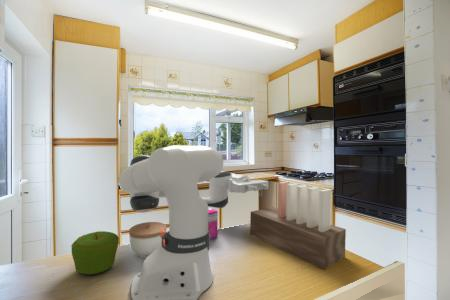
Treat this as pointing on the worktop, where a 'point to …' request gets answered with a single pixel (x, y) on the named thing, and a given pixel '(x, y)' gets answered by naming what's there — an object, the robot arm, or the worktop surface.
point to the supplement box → (212, 223)
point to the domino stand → (299, 238)
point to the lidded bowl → (146, 238)
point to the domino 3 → (301, 204)
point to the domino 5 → (324, 210)
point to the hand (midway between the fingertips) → (262, 188)
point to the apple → (95, 252)
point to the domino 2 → (291, 201)
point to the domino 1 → (282, 199)
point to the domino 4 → (312, 207)
